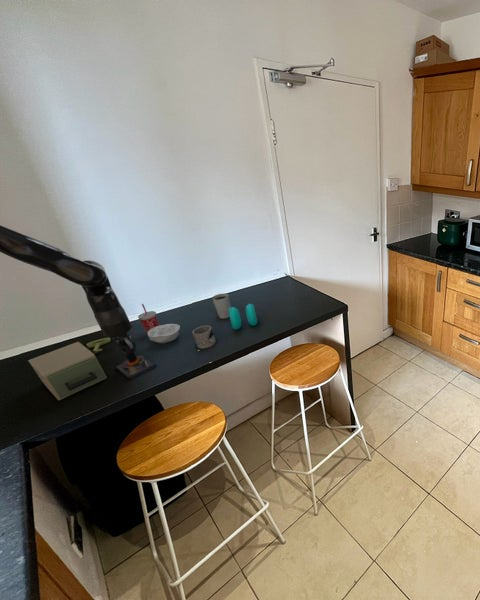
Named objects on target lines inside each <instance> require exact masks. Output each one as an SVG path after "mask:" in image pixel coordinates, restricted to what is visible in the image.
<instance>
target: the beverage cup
mask: <svg viewBox="0 0 480 600" xmlns="http://www.w3.org/2000/svg"><path fill="white" fill-rule="evenodd" d="M141 306H142V308H143V310H144V312H142V313H140V314H138V316H137V318H138V320H140V322H141V325H142V326H143V328H144V330H145V332H146V333H147V334H148V331H149V330H151V329H152V328H154V327H157V326H160V324H159V320H158V316H157V313H156V311H154V310H150V311H147V309H146V307H145V305H144V303H141Z"/></svg>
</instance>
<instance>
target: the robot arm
mask: <svg viewBox="0 0 480 600" xmlns="http://www.w3.org/2000/svg"><path fill="white" fill-rule="evenodd" d="M0 253H1V254H4V255H6V256H8V257H9V258H12V259H15V260H17V261H20V262H22V263H23V264H27V265H30V266H33V267H36V268H38V269H41V270H45V271H47V272H51V273H53V274H54V275H57V276H59V277H61V278H64V279H65V280H67V281H69V282H72V283H74V284H76V285H78V286H81V287H82V289H83V291H84V293H85V297H86V300H87V303H88V305H89V306H90V308H91V311H92V313H93V316H94V318H95V321H96V323H97V324H98V327H99V328H100V330H101V332H102V334H103V336H105V337H106V338H110V339H112V341H113V342H114V343H115V345H116V347H117V348H118V349H119V350H120V351H121V352H122V353H123V354H124V356H125V358H126V360H128V361H129V362H130V363H132V362H134V361H136V360H137V358H136V357H137V356H136V353H135V352H137V347H136V346H137V345H136V342H134V341H133V340H132V339H133V338H132V336H131V334H128V332H129V331H131V330H132V328H133V326H132V323H131V321H130V319H129V317H128V315H127V312H126V310H125V308H124V307H123V305H122V303H121V302H120V300H119V297H118V296H117V294H116V292H115V291H114V289H113V288H112V285H111V281H110V278H109V277H108V274H107V272H106V269H105V267H104V266H103V265H102V264H101V263H100V262H98V261H95V260H90V259H87V260H86V259H85V260H82V259H80V258H76V257H74V256H72V254H70V253H68V252H67V251H66V250H64V249H61V248H59V247H57V246H54V245H52V244H50V243H47V242H44V241H42V240H39V239H37V238H35V237H31V236H30V235H27V234H24V233H22V232H19V231H15V229H14V230H13V229H11V228H8V227H6V226H3V225H1V224H0Z"/></svg>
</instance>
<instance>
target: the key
mask: <svg viewBox="0 0 480 600" xmlns="http://www.w3.org/2000/svg"><path fill="white" fill-rule="evenodd" d="M111 339H112V338H111V337H104V338H100V339H96V340H92V341H90V342H88V343H86V347H87V348H93V349H92V353H93V354H97V353H99V352H102V351H103V348H101V347H102V346H103V345H107V344H108V343H110V342H111V341H112V340H111Z"/></svg>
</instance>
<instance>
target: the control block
mask: <svg viewBox="0 0 480 600" xmlns="http://www.w3.org/2000/svg"><path fill="white" fill-rule="evenodd" d="M136 358H139V360H140V361H139V362H138V363H136V364H134V365H130V366H128V365H127V361H128V360H127V359H125V361H123V362H122V363H121V364H119V365H117V366H115V369H116V370H117V371H118V372H119V373H121V374H122V375H123V376H124V377H126V378H127V379H128V380H131V379H134V378H136V377H137V376H140V375H142V374H144V373H146V372H148V371H150V370H152V369H154V368H156V365H155V363H153V362H152V361H151V360H149V359H147V358H146V357H145V356H143V355H137V356H136Z"/></svg>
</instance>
